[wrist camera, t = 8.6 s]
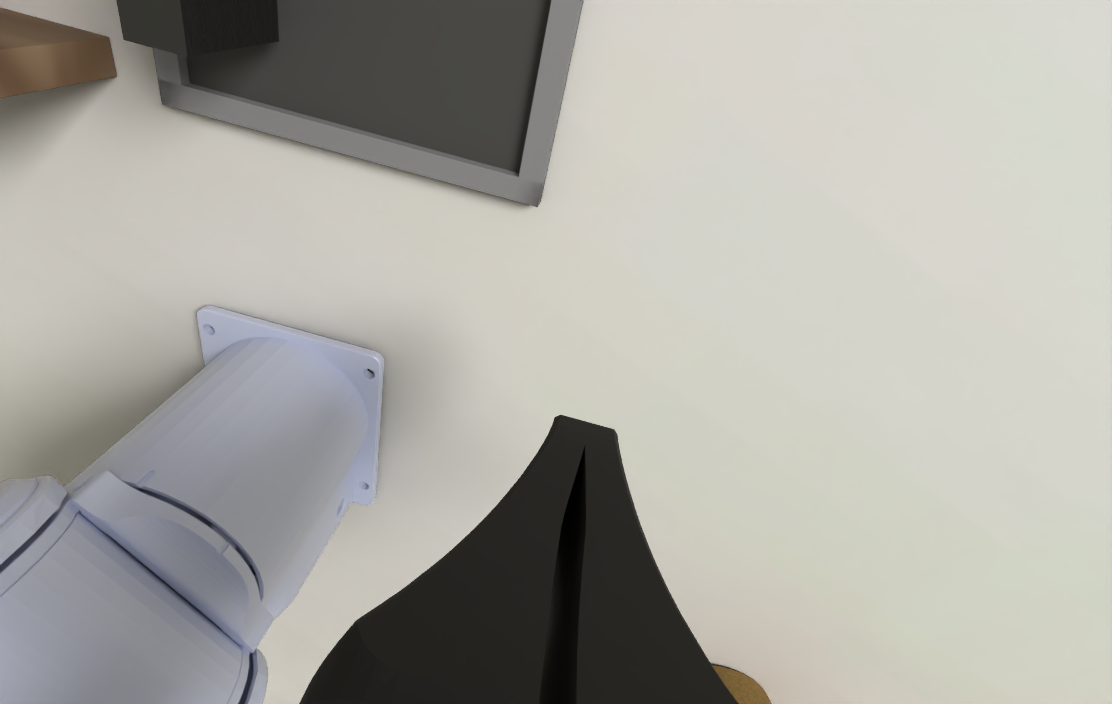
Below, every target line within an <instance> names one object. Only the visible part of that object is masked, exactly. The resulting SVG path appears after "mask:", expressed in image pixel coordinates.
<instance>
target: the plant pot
mask: <svg viewBox="0 0 1112 704" xmlns="http://www.w3.org/2000/svg"><path fill="white" fill-rule="evenodd" d="M712 666H713V668H714V669H715V671H716V672H717V674H718V675H719V677H720V678H721V680H722V681H723V683H724V684H725V686H726V687H727V689H728V690H729V691H730V693H731V694H732V695H733V697H734V698H735V699H736V701H737V702H738V703H739V704H772V703H771V701H770V700H769V698H768V696H767V694H766V692H765V691H764V690H763V688H762V687H761V686H760V685H759V684H758V683H757V682H756V681H754V680H753V679H752V678H750V677H748V676H746V675H745V674H742V673H740V672H738V671H735V670H732V669H728V668H725V667H721V666H715V665H712Z"/></svg>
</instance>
